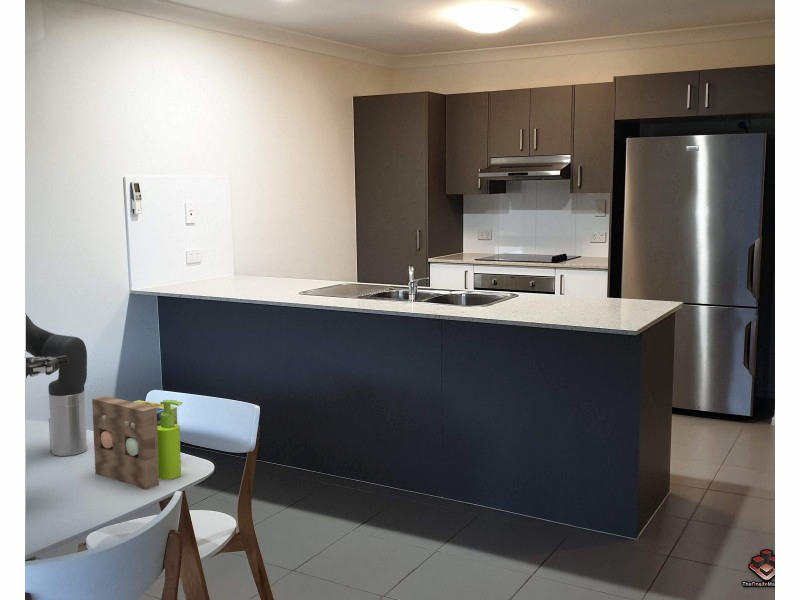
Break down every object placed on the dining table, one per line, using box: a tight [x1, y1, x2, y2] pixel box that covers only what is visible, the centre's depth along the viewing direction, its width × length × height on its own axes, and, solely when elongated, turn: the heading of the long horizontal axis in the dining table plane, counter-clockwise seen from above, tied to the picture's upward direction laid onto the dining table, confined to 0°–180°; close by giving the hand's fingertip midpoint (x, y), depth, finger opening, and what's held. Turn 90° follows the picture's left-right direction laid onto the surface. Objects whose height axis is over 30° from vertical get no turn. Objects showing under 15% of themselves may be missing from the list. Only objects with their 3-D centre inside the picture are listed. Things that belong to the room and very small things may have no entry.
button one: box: [101, 431, 113, 448], centre depth 197 cm, size 4×3×4 cm
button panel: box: [91, 395, 160, 490], centre depth 195 cm, size 20×4×20 cm, turn 57°
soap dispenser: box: [157, 399, 183, 481], centre depth 198 cm, size 6×7×20 cm
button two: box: [126, 437, 138, 456], centre depth 192 cm, size 4×3×4 cm
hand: (67, 359), depth 188 cm, fingers closed
